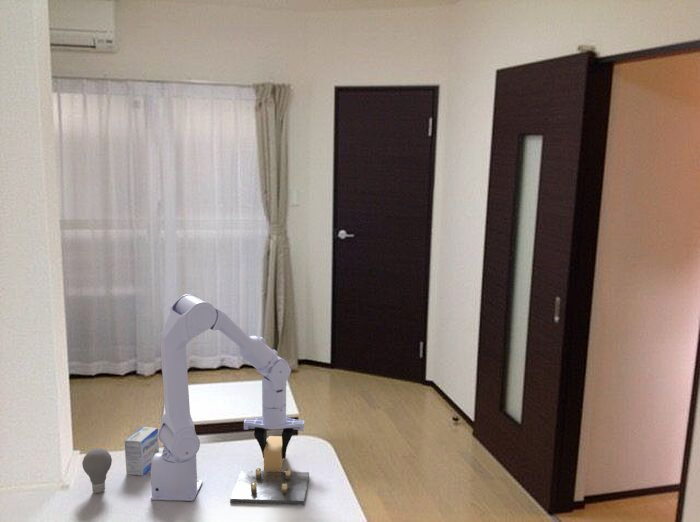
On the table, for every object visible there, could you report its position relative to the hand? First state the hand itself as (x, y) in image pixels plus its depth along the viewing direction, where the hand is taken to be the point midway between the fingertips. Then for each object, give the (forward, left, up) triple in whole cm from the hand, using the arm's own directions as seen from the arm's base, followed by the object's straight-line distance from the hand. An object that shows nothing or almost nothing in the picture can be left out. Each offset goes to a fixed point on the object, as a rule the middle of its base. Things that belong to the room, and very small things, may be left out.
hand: (274, 456), depth 152 cm
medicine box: (-31, -4, -2) cm, 31 cm away
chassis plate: (+1, -12, -2) cm, 12 cm away
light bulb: (-37, -15, -2) cm, 40 cm away
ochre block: (0, 0, -2) cm, 2 cm away
